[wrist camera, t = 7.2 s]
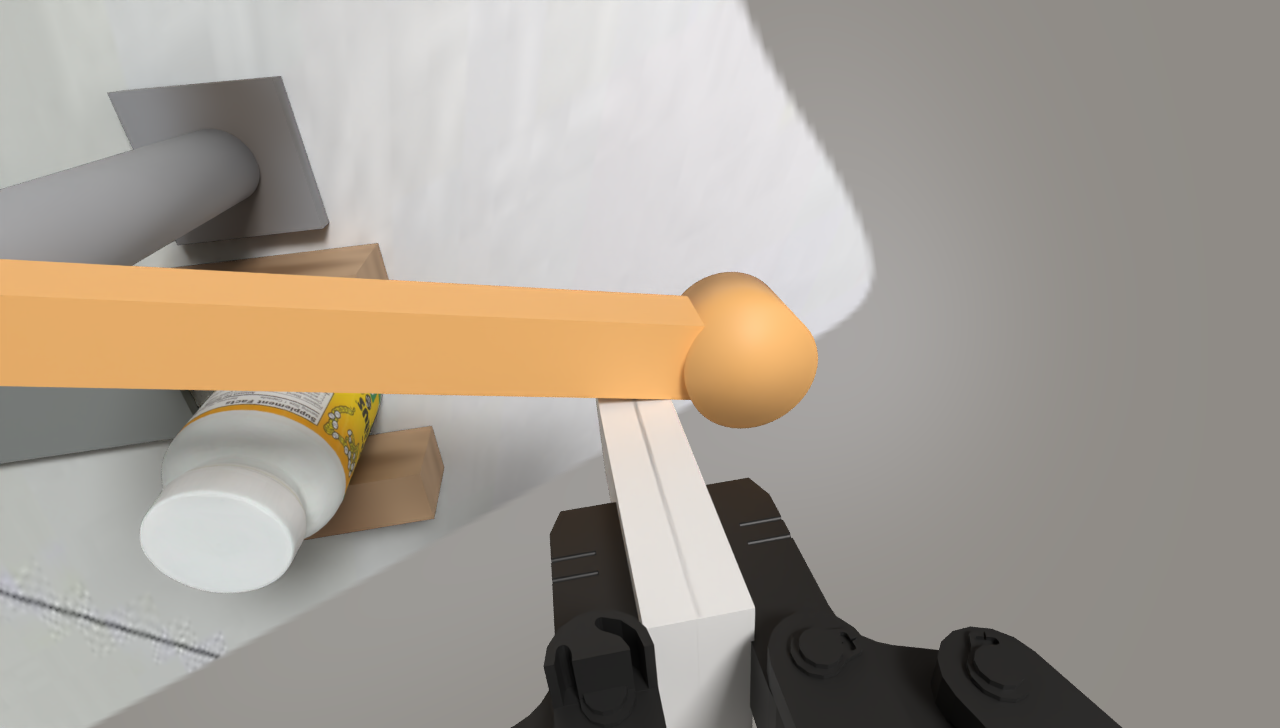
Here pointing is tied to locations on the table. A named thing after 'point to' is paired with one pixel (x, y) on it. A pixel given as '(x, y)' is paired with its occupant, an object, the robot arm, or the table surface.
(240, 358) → the grey orange l-shaped piece
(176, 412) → the mat
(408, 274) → the table surface
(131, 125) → the wooden block set
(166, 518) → the supplement bottle
